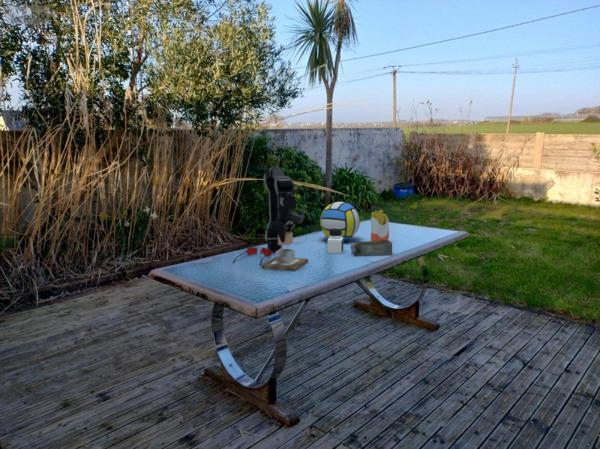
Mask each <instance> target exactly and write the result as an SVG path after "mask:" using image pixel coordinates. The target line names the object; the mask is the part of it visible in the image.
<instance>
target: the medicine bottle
mask: <svg viewBox="0 0 600 449" xmlns="http://www.w3.org/2000/svg"><path fill="white" fill-rule="evenodd" d="M327 238H328V237H327ZM343 252H344V241H343V237H342V230H341V229H339V228H332V229H330V230H329V238H328V239H327V254H330V255H331V254H336V255H339V254H341V255H342V254H343Z"/></svg>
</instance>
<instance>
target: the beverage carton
mask: <svg viewBox="0 0 600 449" xmlns="http://www.w3.org/2000/svg"><path fill="white" fill-rule="evenodd" d="M350 244H351V246H350V247H351V248H350V251H351V252H350V253H351V255H352V256H354V257H372V256H373V257H376V256H377V255H378V256H392V255H393V243H392V242H391V241H390V240H389V239H388V240H380V241H371V240H370V241H365V240H364V241H351V242H350Z"/></svg>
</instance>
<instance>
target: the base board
mask: <svg viewBox="0 0 600 449" xmlns="http://www.w3.org/2000/svg"><path fill="white" fill-rule="evenodd" d="M308 263H309V259H308V258H304V257H303V258H302V257H295V249H294V248H293V249H291V248H282V249H280V250H278V251H276V253H275V256H274V257H272V258H271V259H269V260H267V261H265V262H264V263H263V264H262V263H261V265H260V266H261V269H263V270H276V271H277V270H278V271H288V272H297V271H298V270H299V269H300V268H302V267H303V266H305V265H306V264H308Z"/></svg>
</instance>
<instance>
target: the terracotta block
mask: <svg viewBox="0 0 600 449" xmlns="http://www.w3.org/2000/svg"><path fill="white" fill-rule="evenodd" d="M293 233H294V232H292V231H291V232H285V241H284V243H283V242H281V240H280V238H279V236H278V245H282V246H290V245H292V244H293V243H294V241H293V240H294V239H293Z"/></svg>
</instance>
